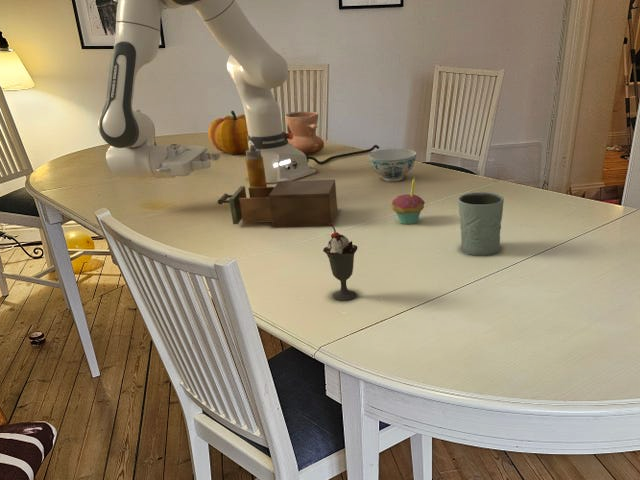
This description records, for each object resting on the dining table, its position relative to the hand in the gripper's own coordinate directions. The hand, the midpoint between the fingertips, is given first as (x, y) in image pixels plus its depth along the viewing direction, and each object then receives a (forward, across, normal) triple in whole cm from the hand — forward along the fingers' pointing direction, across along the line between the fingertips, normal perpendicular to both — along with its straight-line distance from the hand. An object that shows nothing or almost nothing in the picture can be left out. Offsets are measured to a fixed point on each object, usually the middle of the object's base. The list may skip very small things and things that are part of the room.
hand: (214, 160), depth 181 cm
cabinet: (+26, -11, +14) cm, 32 cm away
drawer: (+13, -11, +13) cm, 21 cm away
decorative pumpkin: (-14, +76, +14) cm, 78 cm away
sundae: (+42, -62, +14) cm, 76 cm away
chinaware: (+48, +28, +14) cm, 57 cm away
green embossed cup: (+71, -37, +14) cm, 81 cm away
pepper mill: (+11, +1, +14) cm, 18 cm away
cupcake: (+54, -16, +14) cm, 58 cm away
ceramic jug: (+13, +69, +14) cm, 71 cm away
